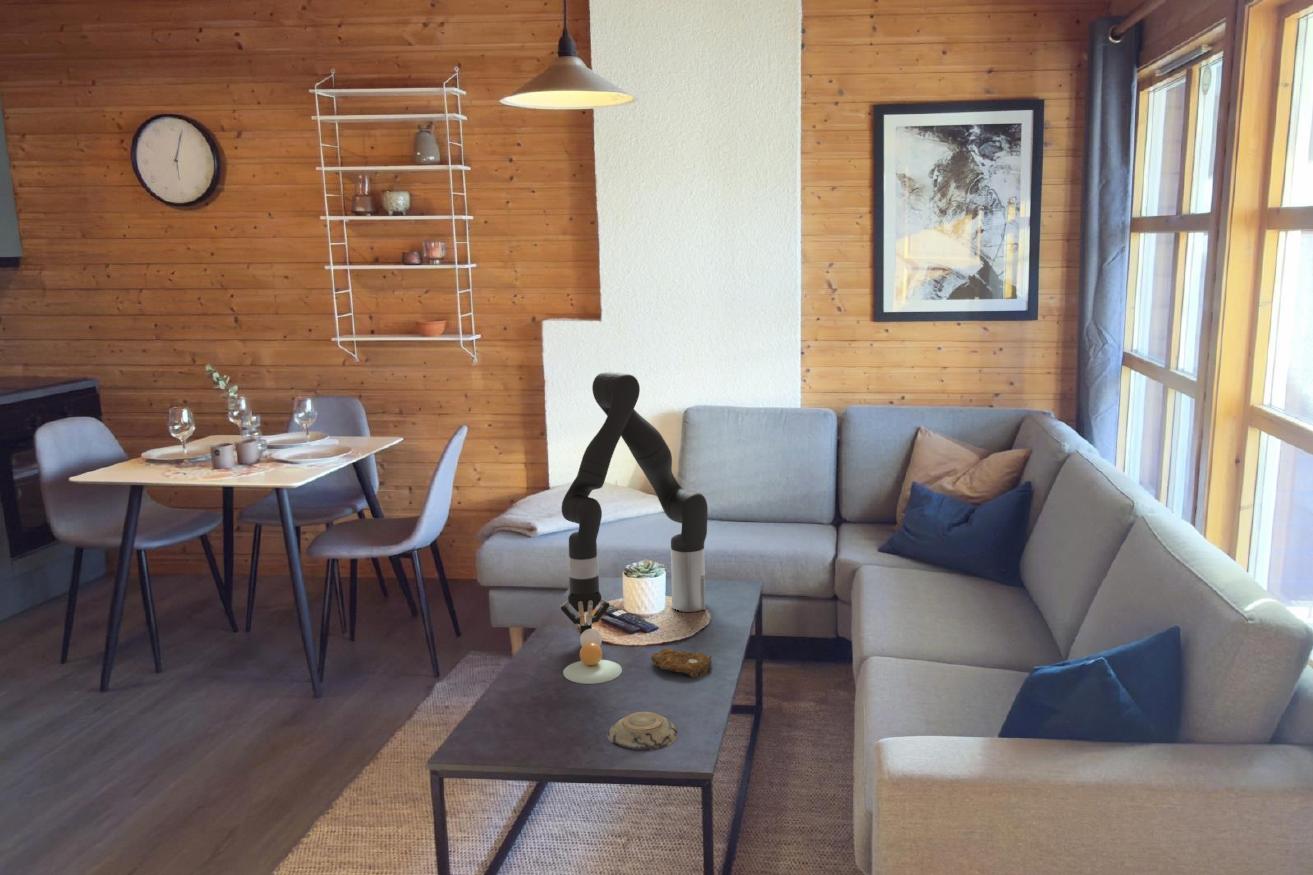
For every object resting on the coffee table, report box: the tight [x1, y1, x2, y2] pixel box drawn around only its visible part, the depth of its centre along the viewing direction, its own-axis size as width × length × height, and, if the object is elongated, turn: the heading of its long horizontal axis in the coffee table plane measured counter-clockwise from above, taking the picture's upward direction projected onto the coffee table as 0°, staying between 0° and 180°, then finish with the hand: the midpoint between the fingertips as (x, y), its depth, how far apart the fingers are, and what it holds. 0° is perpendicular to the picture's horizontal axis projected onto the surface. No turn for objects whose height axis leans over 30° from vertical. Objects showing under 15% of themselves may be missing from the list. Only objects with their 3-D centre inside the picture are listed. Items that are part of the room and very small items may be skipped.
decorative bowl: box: [606, 711, 678, 752], centre depth 219 cm, size 15×4×15 cm
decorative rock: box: [650, 648, 712, 679], centre depth 252 cm, size 11×4×15 cm
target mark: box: [562, 659, 623, 685], centre depth 251 cm, size 14×14×1 cm
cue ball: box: [579, 628, 603, 648], centre depth 264 cm, size 6×6×6 cm
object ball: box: [579, 643, 603, 666], centre depth 255 cm, size 6×6×6 cm
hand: (586, 637), depth 269 cm, fingers closed
